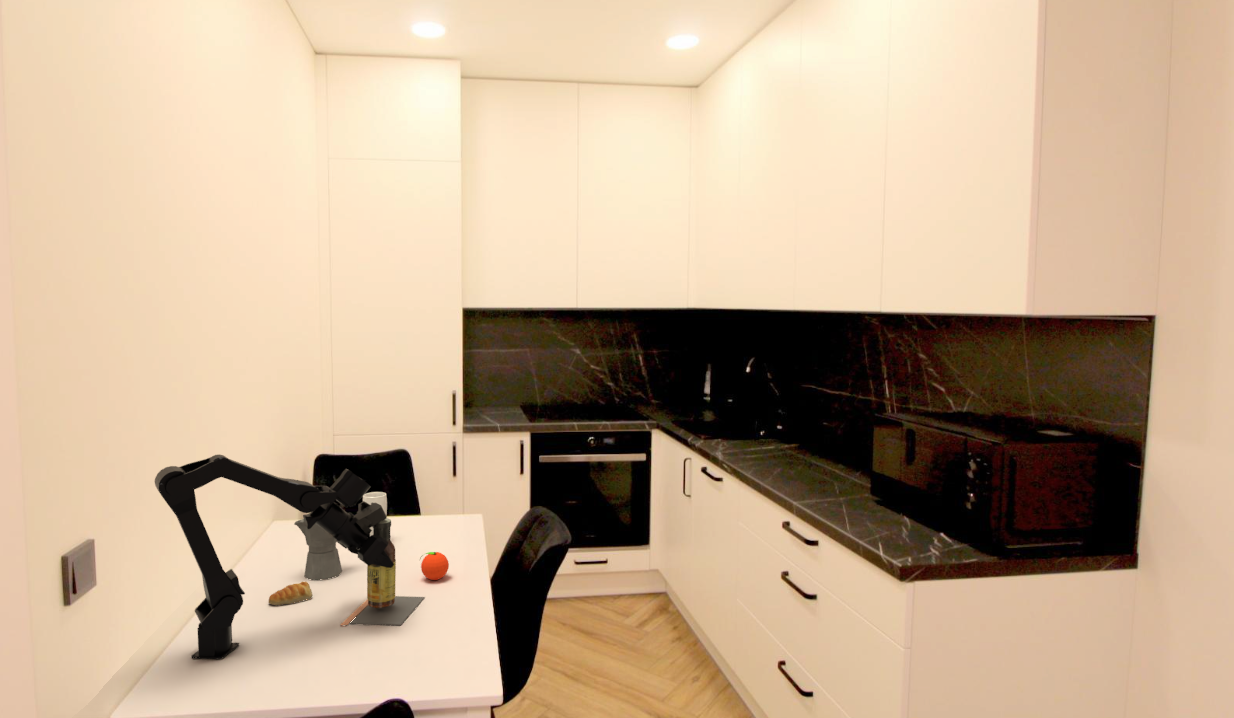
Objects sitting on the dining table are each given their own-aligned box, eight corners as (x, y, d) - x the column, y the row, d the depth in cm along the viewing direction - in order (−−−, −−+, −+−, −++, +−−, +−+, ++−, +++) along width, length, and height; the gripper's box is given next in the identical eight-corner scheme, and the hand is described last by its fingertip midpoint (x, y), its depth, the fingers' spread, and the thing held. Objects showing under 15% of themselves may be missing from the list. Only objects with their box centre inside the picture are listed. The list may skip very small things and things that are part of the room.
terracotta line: (346, 626, 167) (346, 624, 167) (340, 626, 167) (340, 624, 167) (390, 583, 193) (390, 582, 193) (385, 583, 193) (384, 582, 193)
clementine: (412, 582, 194) (411, 554, 193) (426, 573, 201) (426, 546, 200) (440, 585, 192) (439, 557, 191) (454, 575, 198) (453, 549, 198)
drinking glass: (362, 543, 227) (361, 493, 226) (386, 540, 229) (384, 490, 228) (365, 549, 220) (363, 498, 219) (389, 546, 223) (388, 495, 222)
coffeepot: (297, 584, 193) (295, 514, 191) (295, 573, 201) (292, 505, 200) (361, 574, 199) (359, 507, 198) (356, 564, 208) (354, 499, 207)
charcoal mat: (400, 625, 167) (400, 624, 167) (349, 624, 168) (349, 623, 168) (424, 598, 183) (424, 596, 183) (377, 597, 184) (377, 595, 184)
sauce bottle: (362, 603, 176) (361, 519, 175) (388, 597, 180) (387, 514, 179) (374, 612, 171) (373, 525, 170) (400, 605, 175) (399, 520, 174)
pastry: (274, 610, 177) (274, 594, 176) (264, 602, 181) (263, 587, 181) (315, 599, 183) (314, 583, 183) (303, 592, 188) (302, 577, 188)
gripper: (378, 502, 164) (427, 543, 171) (349, 486, 179) (395, 525, 186) (341, 544, 160) (393, 585, 167) (315, 525, 174) (364, 563, 182)
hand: (387, 562), depth 176 cm, fingers closed on sauce bottle, 6 cm apart
